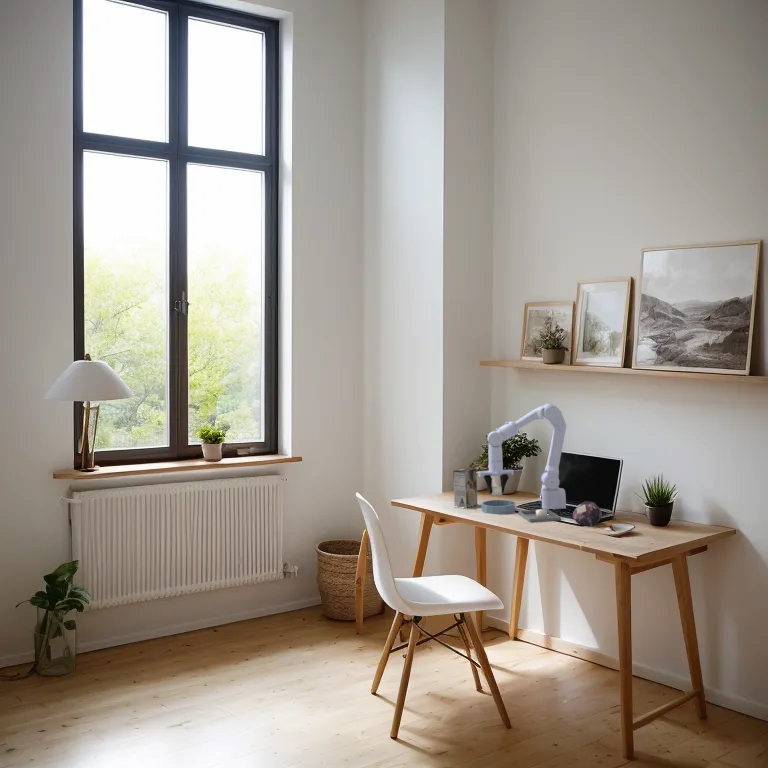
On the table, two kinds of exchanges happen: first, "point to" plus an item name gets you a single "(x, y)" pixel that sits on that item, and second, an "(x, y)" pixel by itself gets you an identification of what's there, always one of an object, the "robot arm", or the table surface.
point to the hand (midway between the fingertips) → (496, 492)
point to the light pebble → (496, 490)
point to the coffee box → (465, 487)
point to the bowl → (498, 506)
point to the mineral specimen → (587, 514)
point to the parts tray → (531, 517)
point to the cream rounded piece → (541, 513)
